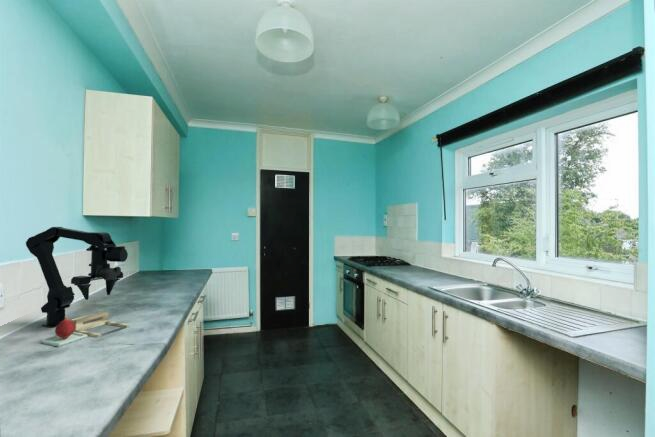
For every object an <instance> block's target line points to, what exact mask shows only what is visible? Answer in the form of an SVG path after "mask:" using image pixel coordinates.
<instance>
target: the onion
mask: <svg viewBox="0 0 655 437" xmlns="http://www.w3.org/2000/svg"><path fill="white" fill-rule="evenodd" d="M71 320H72V319H69V317H67V316H65V319H64V320H63V321H61V322H60V323H59V324H58V325H57V326H55V330H54V333H55V336H56V335H57V336H58V337H60V338H63V339H67V338H68V337H69V336H70V335H72V334H73V333H74V331H75V328H76V326H75V324H74V322H72V321H71Z"/></svg>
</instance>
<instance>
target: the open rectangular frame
mask: <svg viewBox="0 0 655 437" xmlns="http://www.w3.org/2000/svg"><path fill="white" fill-rule="evenodd" d="M109 312H110V311H106V310H103V311H99V312H94V313H92V314H88V315H83V316H80V317H77V318H73V319H70V320H71V321H72V322H74V324H75V326H76V328H75V331H74V332H77V333H82V334H87V337H93V338H100V337H103V336H107V335H110V334H113V333H115V332H118V331H121V330H124V329H126V328H129V327H130V324H129V323H122V322H117V321H111V320H109V314H110V313H109ZM104 325H109V326H116V327H119V328H116V329H113V330H109V331H106V332H104V333H98V332H93V331H88V330H90V329H93V328H97V327H100V326H104ZM87 329H88V330H87Z"/></svg>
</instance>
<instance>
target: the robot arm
mask: <svg viewBox="0 0 655 437" xmlns="http://www.w3.org/2000/svg"><path fill="white" fill-rule="evenodd" d="M60 238H64V239H70V240H76V241H81V242H83V243H86V244H88V245H90V246H89V247H88V248H86V251H87V252H91V254H90V255H91V259H90V260H91V261H90V263H89V264H88V267H90V273H88V274H87V275H77V276H73V277H72V278H71V280H70V284H72V285H74V286H77V288H78V289H79V291H80V292H81V294H82V295H83V298H84V300H86V301H88V300H89V296H90V287H91V286H92V283H91V282H92V281H98V280H99V281H100V280H104V281H105V291H106V296H111V294H112V290H113V289H114V287H115V285H116V283H117V282H119V281H121V279H123V278H124V273H123V271H122V268H121V267H120V266H116V267H111V264H110V263H109V262H113V263H115V262H117V263H120V262H121V263H124V262H126V261H127V259H128V257H129V256H128V255H129V254H128V251H127V249H126V246H124V245H120V246H119V245H117V244H115V242H114V241H113V239H112V236H111V234H110V233H108V232H105V231H104V232H103V231H101V232H99V231H97V232H95V231H94V232H93V231H92V232H91V231H90V232H89V231H84V230H83V231H82V230H78V229H72V228H65V227H63V226H52V227H49V228H48V229H46V230H44V231H42V232H39V233H37V234H36V235H35V234H34V235H33V236H30V237H28V239H27V240H26V241H25V246H26V248H27V249H28V251H29V253H30V254H31V255H33V256H34V257H35V258H36V259H37V261H38V264H39V266H40V269H41V272H42V274H43V275H42V276H44V277H43V278H44V279H45V283H46V285H47V287H48V292H47V296H46V299H47V302H46V303H44V304H43V305H42V306H41V307H40V311H41V312H42V313H43V314H46V322H45V323H42V324H41V326H43V327H48V328H56V326H57V325H58V324H59V323H60V322H61V321H63V320H64V319H65V318H66V309H67V308H70V307H71V304H72V303H73V302H74V300H75V293H74V291H73V287H72V286H66V285H65V284H64V282H63V279H62V277H61V274H60V273H61V272H59V269H58V266H57V263H56V260H55V257H54V256H53V253H54V250H55V245H54V244H55V243H56V242H57V241H59V240H60Z"/></svg>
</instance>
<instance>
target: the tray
mask: <svg viewBox="0 0 655 437" xmlns="http://www.w3.org/2000/svg"><path fill="white" fill-rule="evenodd" d="M87 338H88V335H87V334H82V333H77V332H74V333H73V334H72V335H70V336H69V337H68V338H67V339H63V338H60V337H58V336H57V335H56V334H55V335H53V336H49V337H46V338H44V339H43V338H42V339H41V344H45V345H48V346H53V347H58V348H60V347H63V346H66V345H70V344H72V343H73V344H74V343H76V342H78V341H82V340H85V339H87Z"/></svg>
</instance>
